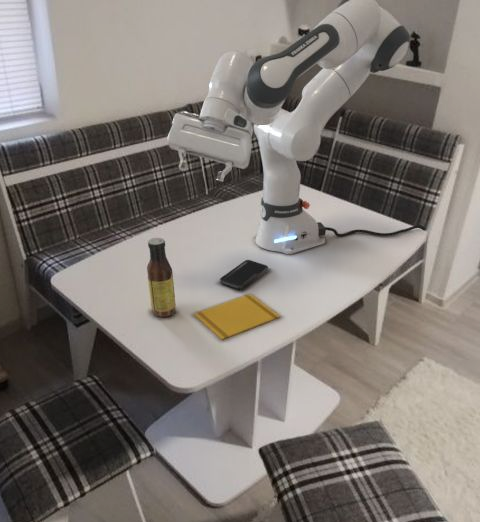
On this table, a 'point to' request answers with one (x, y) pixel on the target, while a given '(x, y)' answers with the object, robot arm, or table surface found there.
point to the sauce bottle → (160, 279)
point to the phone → (244, 275)
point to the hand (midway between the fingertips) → (200, 174)
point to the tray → (236, 316)
